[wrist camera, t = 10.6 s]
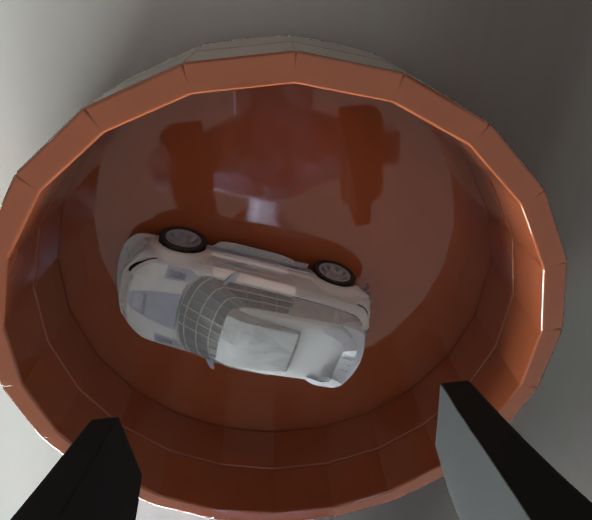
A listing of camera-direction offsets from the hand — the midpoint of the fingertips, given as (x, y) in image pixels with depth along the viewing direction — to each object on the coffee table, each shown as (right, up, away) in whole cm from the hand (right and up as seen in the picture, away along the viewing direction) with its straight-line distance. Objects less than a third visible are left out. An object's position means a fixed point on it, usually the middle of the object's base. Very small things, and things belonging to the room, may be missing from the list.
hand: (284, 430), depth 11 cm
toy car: (-2, +3, +5) cm, 6 cm away
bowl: (0, +3, +6) cm, 6 cm away
